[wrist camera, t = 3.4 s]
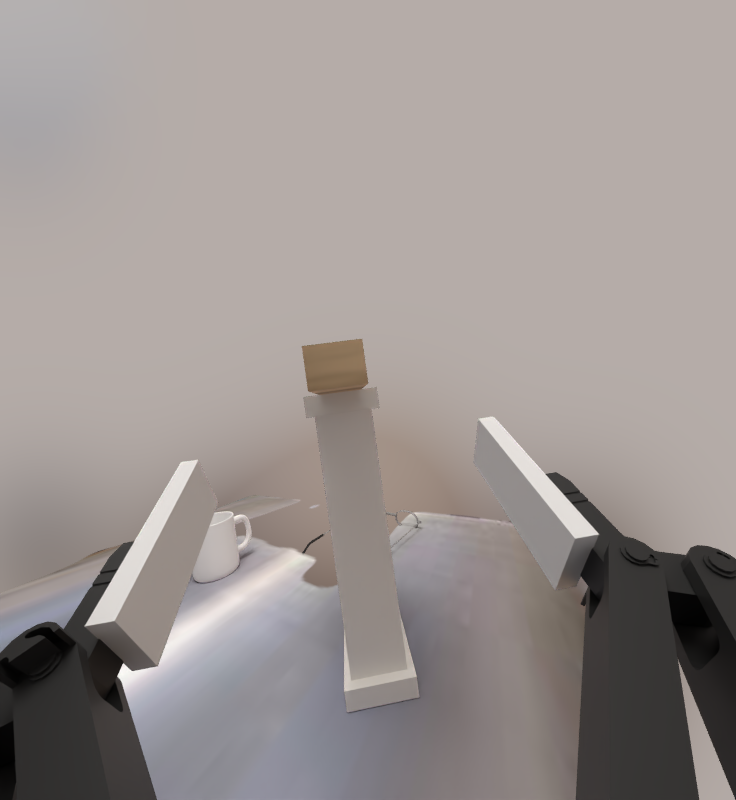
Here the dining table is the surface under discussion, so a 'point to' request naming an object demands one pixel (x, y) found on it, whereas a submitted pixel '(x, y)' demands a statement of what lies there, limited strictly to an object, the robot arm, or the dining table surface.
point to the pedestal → (362, 551)
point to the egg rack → (335, 367)
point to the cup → (220, 548)
